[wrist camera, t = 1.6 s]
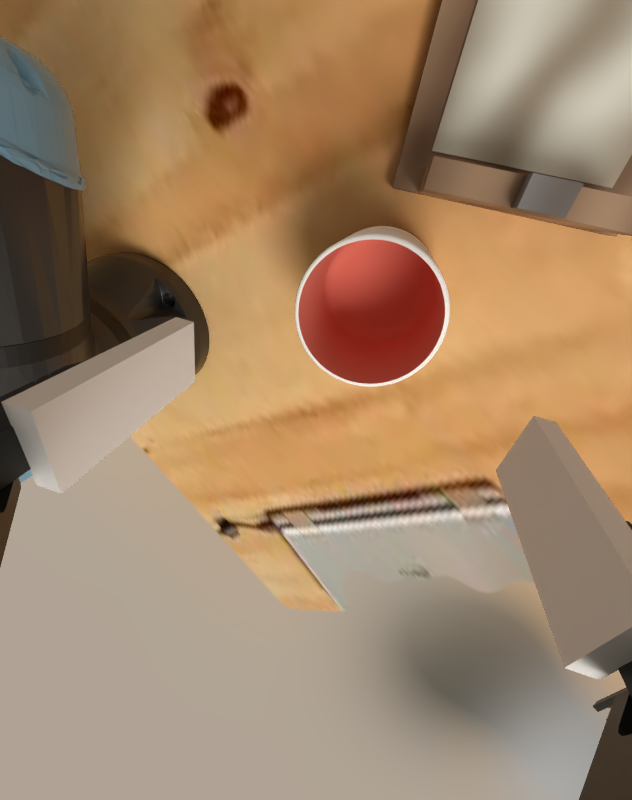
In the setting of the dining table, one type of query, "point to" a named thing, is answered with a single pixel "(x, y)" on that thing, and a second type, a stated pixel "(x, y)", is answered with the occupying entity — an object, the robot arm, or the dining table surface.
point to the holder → (527, 112)
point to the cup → (373, 307)
